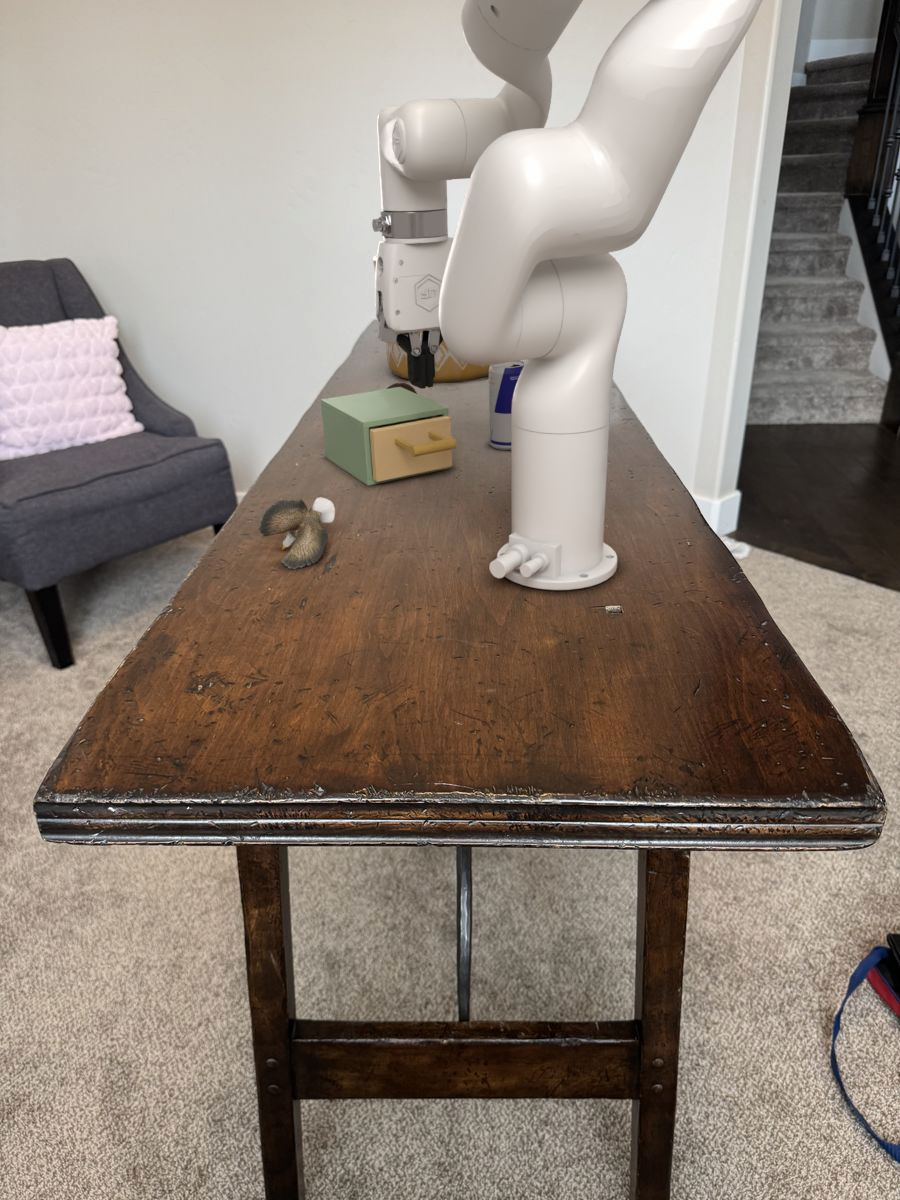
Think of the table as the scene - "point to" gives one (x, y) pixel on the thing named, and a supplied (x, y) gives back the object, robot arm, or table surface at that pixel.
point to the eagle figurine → (299, 528)
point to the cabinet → (369, 425)
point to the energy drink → (502, 401)
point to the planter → (445, 362)
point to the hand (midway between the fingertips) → (421, 385)
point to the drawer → (411, 447)
